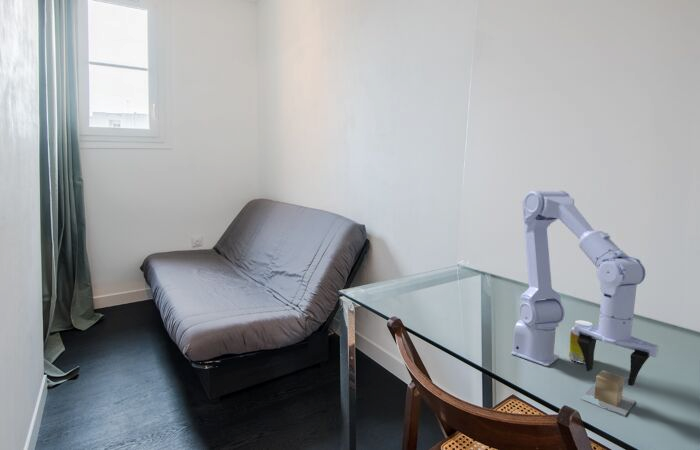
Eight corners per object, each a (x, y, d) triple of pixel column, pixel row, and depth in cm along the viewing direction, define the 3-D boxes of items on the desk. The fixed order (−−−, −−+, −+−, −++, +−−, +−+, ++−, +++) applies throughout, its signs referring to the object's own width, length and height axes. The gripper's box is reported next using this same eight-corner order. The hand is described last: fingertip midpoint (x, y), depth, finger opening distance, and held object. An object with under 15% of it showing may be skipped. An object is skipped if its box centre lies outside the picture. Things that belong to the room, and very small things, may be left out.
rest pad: (580, 399, 82) (580, 397, 82) (592, 386, 87) (592, 385, 87) (625, 416, 76) (625, 415, 76) (635, 401, 81) (635, 400, 81)
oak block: (594, 398, 82) (596, 376, 82) (600, 391, 85) (602, 370, 84) (616, 406, 79) (618, 383, 79) (621, 399, 82) (624, 377, 81)
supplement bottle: (586, 367, 97) (590, 328, 95) (564, 358, 101) (567, 321, 100) (597, 362, 100) (600, 324, 99) (575, 353, 104) (578, 317, 103)
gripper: (570, 309, 82) (565, 369, 84) (655, 330, 72) (647, 398, 73) (582, 303, 87) (577, 359, 89) (663, 321, 76) (655, 385, 78)
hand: (609, 376), depth 81 cm, fingers open, 7 cm apart
